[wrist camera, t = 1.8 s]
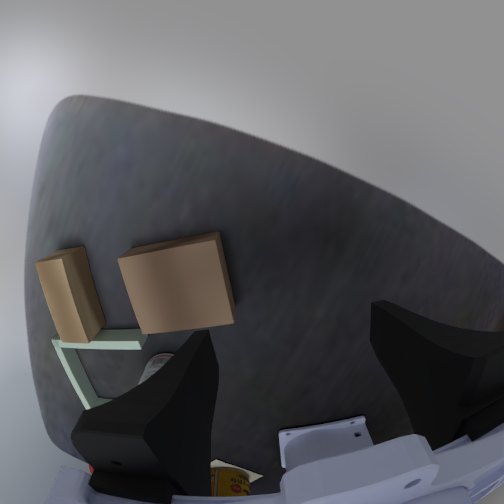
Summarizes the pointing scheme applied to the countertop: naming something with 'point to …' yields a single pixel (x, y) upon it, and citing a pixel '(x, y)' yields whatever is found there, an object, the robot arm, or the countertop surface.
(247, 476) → the condiment
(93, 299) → the block
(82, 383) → the corral
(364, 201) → the countertop surface
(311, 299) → the countertop surface
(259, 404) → the countertop surface
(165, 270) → the tan cardboard block
